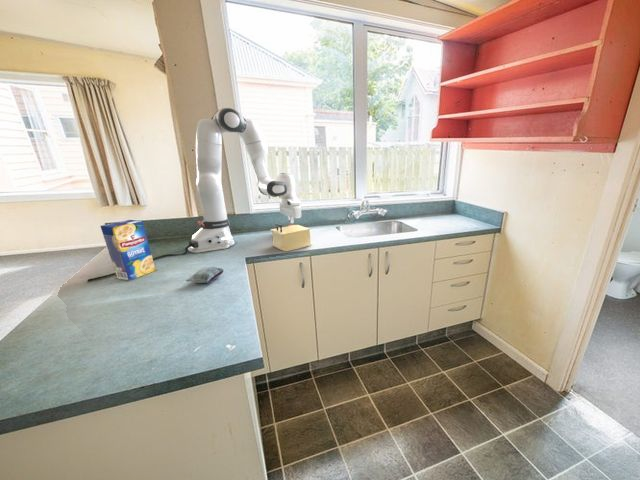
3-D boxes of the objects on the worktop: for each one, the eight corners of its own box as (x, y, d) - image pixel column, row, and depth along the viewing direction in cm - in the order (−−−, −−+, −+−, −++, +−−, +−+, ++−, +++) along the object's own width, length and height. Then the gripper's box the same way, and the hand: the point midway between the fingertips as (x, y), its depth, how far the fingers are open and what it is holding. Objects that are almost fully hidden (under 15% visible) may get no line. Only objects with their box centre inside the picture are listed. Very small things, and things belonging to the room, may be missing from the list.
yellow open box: (284, 251, 154) (283, 235, 151) (273, 246, 163) (271, 230, 159) (310, 245, 165) (309, 230, 162) (298, 240, 173) (297, 225, 170)
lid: (281, 235, 151) (280, 227, 149) (270, 230, 159) (269, 222, 157) (309, 230, 162) (309, 222, 160) (297, 225, 170) (297, 218, 168)
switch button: (290, 229, 182) (289, 226, 182) (287, 228, 185) (286, 225, 184) (295, 228, 185) (295, 225, 184) (292, 227, 187) (292, 224, 187)
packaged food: (187, 286, 115) (184, 274, 113) (205, 273, 126) (203, 263, 124) (209, 287, 115) (207, 275, 113) (225, 274, 126) (223, 264, 124)
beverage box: (156, 270, 128) (142, 221, 121) (129, 280, 119) (112, 227, 111) (144, 268, 130) (130, 219, 123) (116, 278, 120) (99, 225, 113)
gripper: (275, 199, 184) (278, 220, 188) (292, 203, 170) (294, 226, 175) (285, 197, 188) (287, 219, 193) (302, 202, 174) (304, 225, 179)
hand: (291, 222), depth 184 cm, fingers closed
